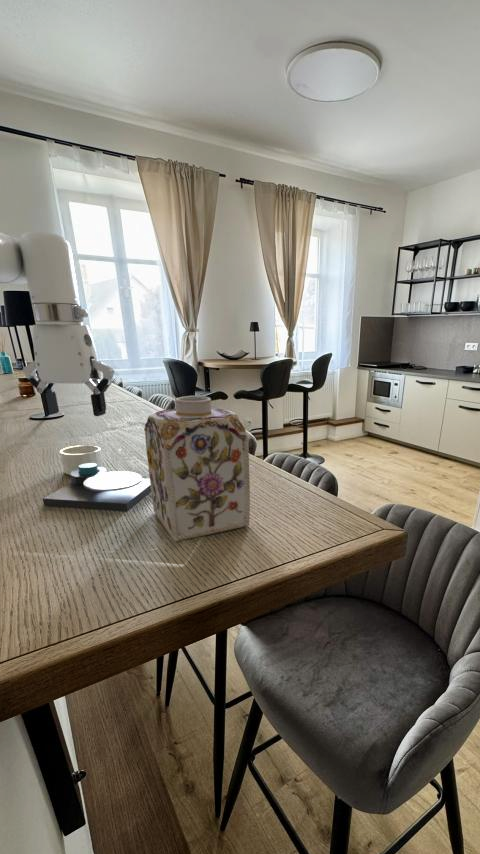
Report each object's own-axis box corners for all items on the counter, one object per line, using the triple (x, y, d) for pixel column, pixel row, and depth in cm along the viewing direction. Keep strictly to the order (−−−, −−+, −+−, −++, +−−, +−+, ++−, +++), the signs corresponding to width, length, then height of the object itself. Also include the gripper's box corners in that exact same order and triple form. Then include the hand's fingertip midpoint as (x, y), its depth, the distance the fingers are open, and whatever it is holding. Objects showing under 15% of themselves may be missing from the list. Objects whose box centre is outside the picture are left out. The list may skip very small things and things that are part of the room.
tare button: (76, 475, 72) (74, 467, 71) (85, 470, 75) (84, 462, 74) (92, 476, 72) (91, 468, 71) (101, 471, 74) (100, 463, 74)
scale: (41, 506, 66) (37, 488, 65) (85, 481, 77) (82, 466, 76) (127, 512, 64) (125, 494, 63) (158, 485, 76) (157, 470, 74)
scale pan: (72, 489, 64) (71, 487, 64) (102, 472, 73) (101, 470, 73) (126, 493, 63) (126, 490, 63) (150, 475, 72) (150, 473, 72)
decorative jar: (222, 500, 69) (218, 390, 63) (252, 526, 60) (251, 401, 53) (150, 513, 64) (137, 394, 57) (171, 544, 54) (158, 407, 48)
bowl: (56, 476, 80) (51, 453, 78) (77, 465, 86) (73, 444, 85) (91, 478, 79) (87, 455, 77) (109, 467, 86) (106, 446, 84)
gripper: (115, 317, 75) (128, 412, 81) (27, 317, 77) (46, 410, 83) (93, 315, 68) (109, 419, 74) (-3, 315, 70) (20, 416, 76)
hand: (76, 414), depth 78 cm, fingers open, 9 cm apart
